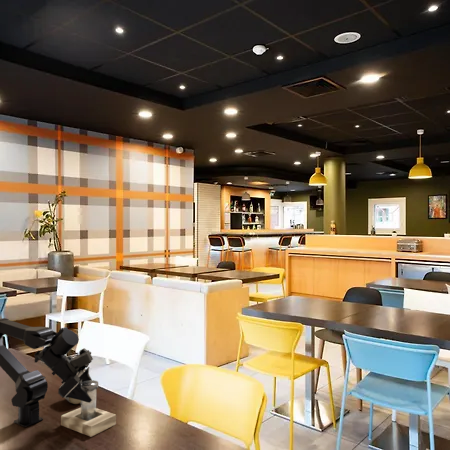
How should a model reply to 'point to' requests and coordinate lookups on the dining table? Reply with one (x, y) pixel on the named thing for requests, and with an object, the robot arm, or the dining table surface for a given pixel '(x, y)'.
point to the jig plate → (88, 422)
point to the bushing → (90, 408)
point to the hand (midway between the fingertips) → (93, 395)
